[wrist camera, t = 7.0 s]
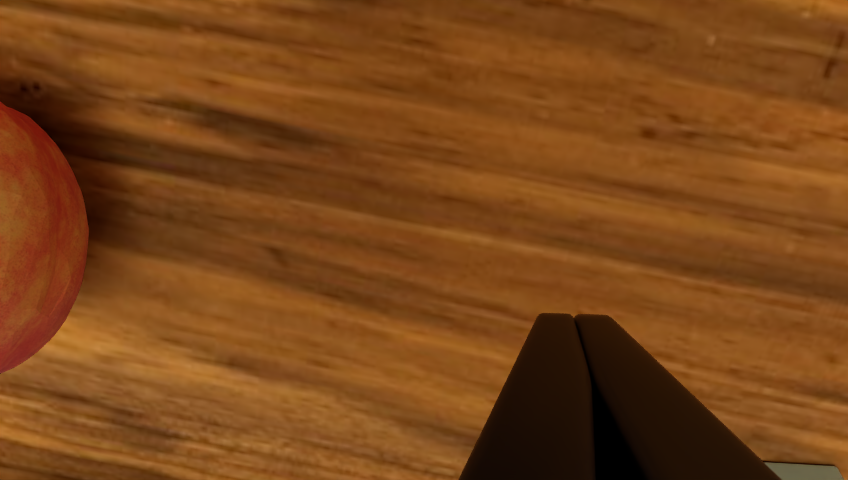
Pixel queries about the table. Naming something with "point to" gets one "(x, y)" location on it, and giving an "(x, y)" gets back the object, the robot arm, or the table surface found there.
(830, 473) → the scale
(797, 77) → the table surface
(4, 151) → the fruit
